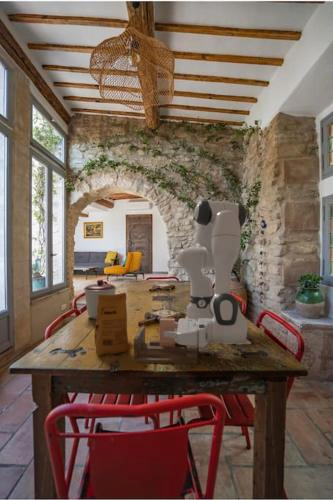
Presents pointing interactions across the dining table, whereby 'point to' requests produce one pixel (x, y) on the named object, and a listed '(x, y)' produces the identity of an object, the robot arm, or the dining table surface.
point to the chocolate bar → (245, 342)
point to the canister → (96, 296)
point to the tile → (167, 325)
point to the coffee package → (111, 324)
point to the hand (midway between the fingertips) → (165, 329)
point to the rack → (162, 351)
